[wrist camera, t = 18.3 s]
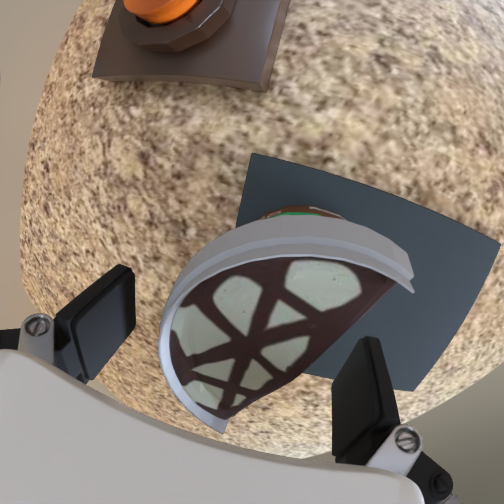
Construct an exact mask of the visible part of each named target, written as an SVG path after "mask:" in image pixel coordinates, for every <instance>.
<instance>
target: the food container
mask: <svg viewBox="0 0 504 504" xmlns="http://www.w3.org/2000/svg"><path fill="white" fill-rule="evenodd" d="M413 277H414V274H413V270H412V267H411V263H410V260H409V257H408V254H407V253H406V252H405V251H404V250H403V249H401V248H400V247H399V246H398V245H396V244H395V243H394V242H392V241H391V240H390V239H388V238H386V237H384V236H383V235H381V234H379V233H377V232H375V231H373V230H371V229H369V228H367V227H365V226H361V225H358V224H355V223H352V222H349V221H348V220H346V219H345V218H343V217H342V216H341V215H339V214H338V213H336V212H333V211H330V210H327V209H324V208H321V207H318V206H314V205H288V206H285V207H282V208H279V209H276V210H273V211H270V212H267V213H265V214H264V215H263V216H261V217H260V218H259V219H257V220H256V221H254V222H251V223H248V224H246V225H243V226H240V227H238V228H235V229H232V230H230V231H228V232H226V233H224V234H223V235H221V236H219V237H218V238H216V239H214V240H213V241H211V242H209V243H208V244H207V245H206V246H204V247H203V248H202V249H201V250H200V251H199V252H198V253H196V254H195V255H194V256H193V257H192V258H191V259H190V260H189V262H188V263H187V264H186V266H185V267H184V268H183V270H182V271H181V272H180V274H179V276H178V278H177V280H176V282H175V284H174V286H173V288H172V290H171V293H170V295H169V297H168V300H167V302H166V305H165V307H164V310H163V313H162V317H161V322H160V326H159V340H158V353H159V360H160V365H161V369H162V372H163V374H164V377H165V379H166V381H167V384H168V385H169V387H170V388H171V390H172V392H173V393H174V395H175V396H176V397H177V399H178V400H179V401H180V402H181V403H182V404H183V406H184V407H185V408H186V409H187V410H188V411H190V412H191V413H192V414H193V415H194V416H195V417H196V418H197V419H199V420H200V421H202V422H203V423H204V424H206V425H207V426H209V427H210V428H212V429H214V430H216V431H217V432H219V433H221V434H224V431H225V429H226V426H227V424H228V421H229V419H230V417H233V416H235V415H236V414H237V413H238V412H239V411H241V410H242V409H243V408H245V407H247V406H248V405H250V404H251V403H253V402H255V401H256V400H258V399H260V398H261V397H263V396H265V395H267V394H269V393H271V392H273V391H275V390H277V389H279V388H281V387H282V386H284V385H286V384H288V383H289V382H291V381H292V380H294V379H295V378H296V377H298V376H299V375H300V374H301V373H302V372H303V371H305V370H306V369H307V368H308V367H309V366H310V365H311V364H312V363H313V362H315V361H316V360H317V359H318V358H319V357H320V356H321V355H322V354H323V353H324V352H325V351H326V350H327V349H328V348H329V347H330V346H331V345H332V344H333V343H335V342H336V341H337V340H338V339H339V338H340V337H341V336H342V335H343V334H344V333H345V332H346V331H347V330H349V329H350V328H351V327H352V326H353V325H354V324H355V323H356V322H357V321H359V320H360V319H361V318H362V317H363V316H364V315H365V314H366V313H367V312H368V311H369V310H370V309H371V308H372V307H374V306H375V305H376V304H377V303H378V302H379V301H380V300H381V299H382V298H383V297H384V296H385V295H386V294H387V293H388V292H389V291H390V290H391V289H392V288H393V287H394V286H395V285H396V284H397V283H399V284H401V285H402V286H403V287H405V288H406V289H407V290H409V291H410V292H411V293H414V292H415V291H414V289H413V287H412V285H411V283H410V280H411V279H412V278H413Z"/></svg>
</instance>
